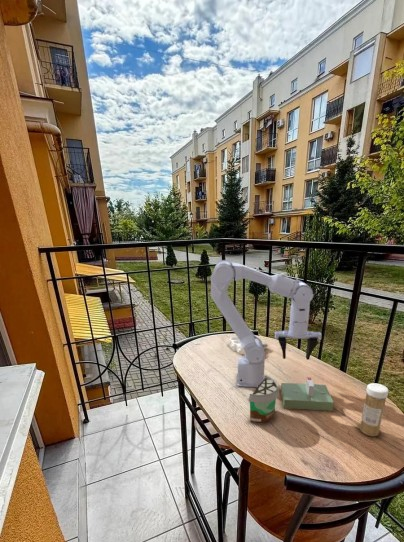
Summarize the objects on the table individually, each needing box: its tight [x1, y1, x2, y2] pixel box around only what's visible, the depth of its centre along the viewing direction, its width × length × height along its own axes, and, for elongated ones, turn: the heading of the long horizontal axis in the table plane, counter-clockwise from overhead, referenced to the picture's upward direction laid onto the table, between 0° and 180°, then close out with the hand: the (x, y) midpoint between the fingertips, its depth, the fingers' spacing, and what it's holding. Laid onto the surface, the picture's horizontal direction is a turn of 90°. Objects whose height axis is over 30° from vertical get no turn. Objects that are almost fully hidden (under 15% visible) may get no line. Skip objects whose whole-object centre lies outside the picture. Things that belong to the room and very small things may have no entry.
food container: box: [248, 375, 280, 425], centre depth 80 cm, size 12×6×10 cm, turn 148°
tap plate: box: [280, 382, 335, 412], centre depth 88 cm, size 14×10×3 cm
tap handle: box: [305, 376, 315, 397], centre depth 87 cm, size 5×1×4 cm, turn 170°
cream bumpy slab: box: [228, 336, 268, 356], centre depth 127 cm, size 3×18×15 cm
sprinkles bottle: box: [359, 382, 389, 437], centre depth 72 cm, size 5×5×14 cm
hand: (295, 358), depth 96 cm, fingers open, 7 cm apart
